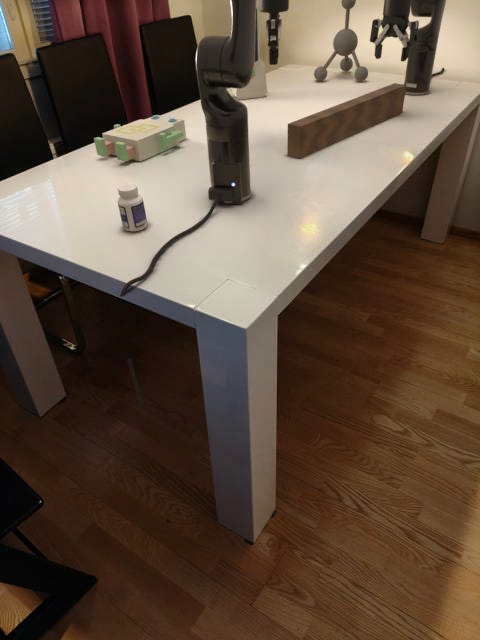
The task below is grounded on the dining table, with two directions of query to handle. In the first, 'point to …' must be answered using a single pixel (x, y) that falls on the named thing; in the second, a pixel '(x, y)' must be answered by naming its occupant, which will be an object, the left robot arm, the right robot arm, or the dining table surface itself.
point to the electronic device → (254, 73)
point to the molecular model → (344, 49)
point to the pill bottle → (131, 208)
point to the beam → (344, 120)
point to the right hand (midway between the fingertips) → (390, 59)
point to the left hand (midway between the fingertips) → (274, 61)
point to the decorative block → (141, 138)
